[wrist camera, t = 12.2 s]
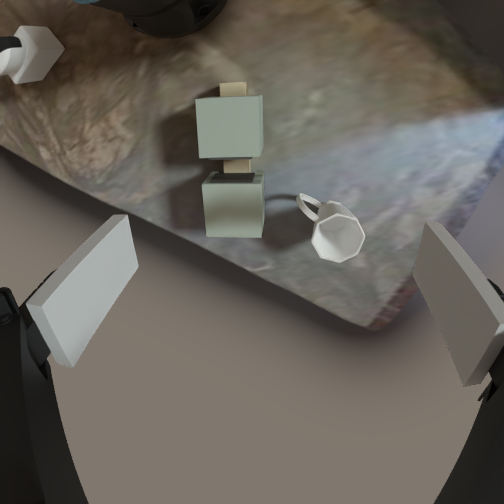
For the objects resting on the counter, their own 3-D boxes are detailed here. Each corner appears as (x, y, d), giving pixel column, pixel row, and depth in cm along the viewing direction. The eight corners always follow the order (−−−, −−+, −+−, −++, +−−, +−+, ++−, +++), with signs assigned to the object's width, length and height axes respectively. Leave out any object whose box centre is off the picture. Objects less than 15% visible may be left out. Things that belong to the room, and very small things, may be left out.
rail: (210, 84, 38) (194, 84, 31) (263, 82, 37) (258, 81, 31) (218, 212, 48) (206, 236, 41) (265, 212, 47) (261, 237, 40)
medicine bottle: (25, 57, 36) (-24, 63, 25) (47, 26, 33) (-2, 24, 23) (42, 81, 38) (-8, 90, 28) (66, 48, 35) (15, 49, 25)
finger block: (207, 97, 37) (195, 99, 32) (262, 94, 37) (258, 96, 31) (210, 150, 41) (199, 161, 36) (263, 149, 40) (259, 160, 35)
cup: (333, 243, 48) (339, 272, 41) (281, 205, 46) (280, 230, 39) (363, 210, 45) (376, 235, 38) (312, 169, 43) (317, 187, 36)
